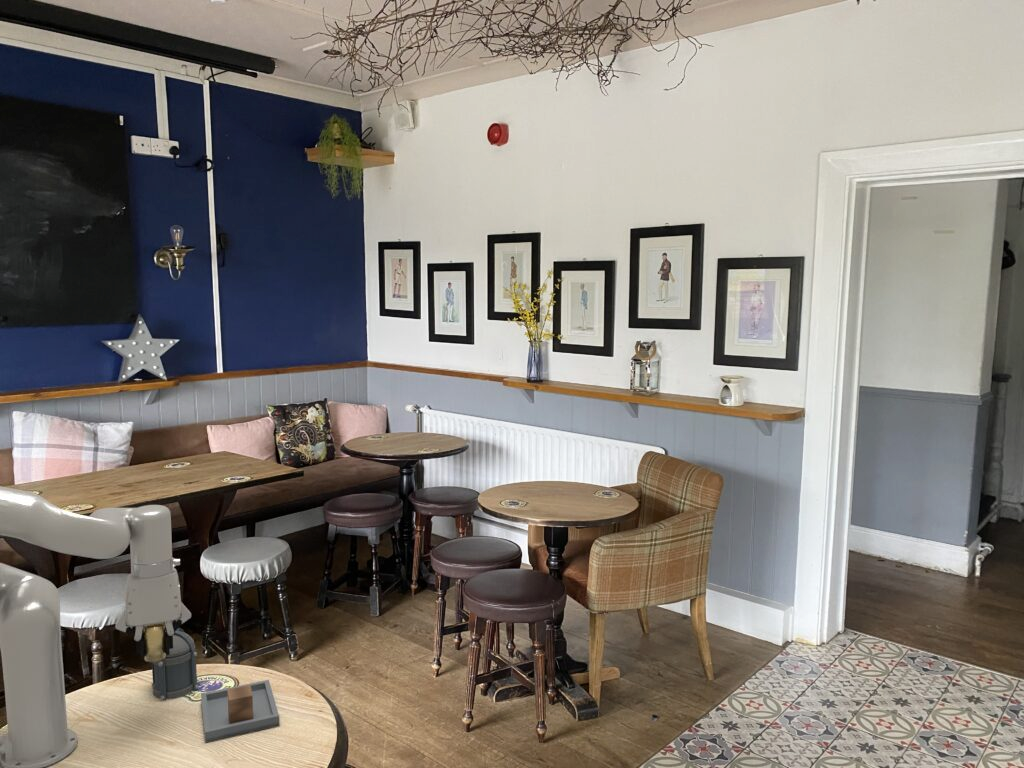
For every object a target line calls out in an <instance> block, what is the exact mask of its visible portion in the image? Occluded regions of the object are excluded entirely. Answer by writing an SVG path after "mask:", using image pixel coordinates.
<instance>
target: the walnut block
mask: <svg viewBox="0 0 1024 768" xmlns="http://www.w3.org/2000/svg"><path fill="white" fill-rule="evenodd" d="M227 692H228V716H229V724H233V723H237V722H242V721H246V720H251V719H253V696H252V691H251V685H249V686H243V687H238V688H233V689H228V690H227Z"/></svg>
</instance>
